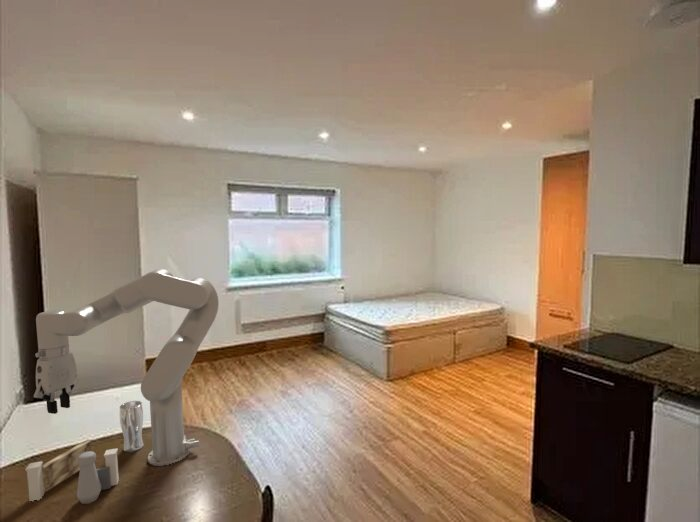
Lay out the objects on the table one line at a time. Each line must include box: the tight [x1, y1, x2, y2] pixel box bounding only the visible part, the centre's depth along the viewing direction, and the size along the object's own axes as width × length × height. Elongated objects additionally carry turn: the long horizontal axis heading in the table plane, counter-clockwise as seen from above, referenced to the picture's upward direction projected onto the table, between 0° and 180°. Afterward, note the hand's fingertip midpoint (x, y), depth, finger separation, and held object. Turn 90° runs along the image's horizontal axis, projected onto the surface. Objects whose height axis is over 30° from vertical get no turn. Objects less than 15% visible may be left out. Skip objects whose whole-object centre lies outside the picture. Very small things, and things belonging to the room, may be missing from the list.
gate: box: [42, 439, 93, 492], centre depth 122 cm, size 15×2×7 cm, turn 164°
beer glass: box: [119, 400, 144, 453], centre depth 139 cm, size 7×7×15 cm
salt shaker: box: [76, 450, 102, 505], centre depth 112 cm, size 6×6×13 cm
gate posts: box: [25, 448, 120, 502], centre depth 116 cm, size 22×4×10 cm, turn 109°
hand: (59, 409), depth 126 cm, fingers open, 3 cm apart
